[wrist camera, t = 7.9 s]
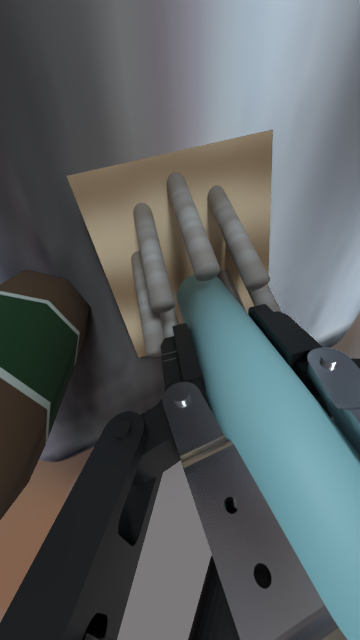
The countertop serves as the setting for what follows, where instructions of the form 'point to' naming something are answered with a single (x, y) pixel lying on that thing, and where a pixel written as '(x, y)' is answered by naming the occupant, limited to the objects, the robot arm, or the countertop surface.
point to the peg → (282, 443)
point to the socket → (181, 229)
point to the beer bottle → (34, 369)
